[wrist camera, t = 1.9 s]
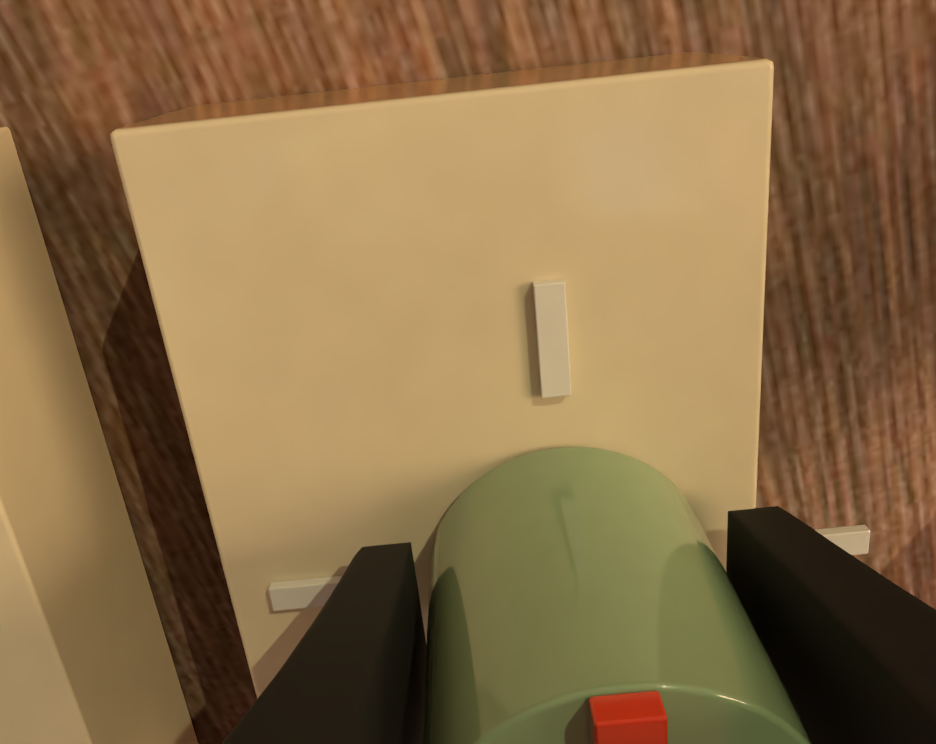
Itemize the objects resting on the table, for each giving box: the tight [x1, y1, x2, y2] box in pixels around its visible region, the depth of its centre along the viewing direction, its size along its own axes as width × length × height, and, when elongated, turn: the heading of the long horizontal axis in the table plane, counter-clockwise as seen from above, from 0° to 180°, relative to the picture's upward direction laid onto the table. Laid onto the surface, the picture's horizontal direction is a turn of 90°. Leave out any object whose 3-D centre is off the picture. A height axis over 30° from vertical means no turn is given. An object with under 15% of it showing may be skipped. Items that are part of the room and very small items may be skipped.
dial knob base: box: [110, 52, 870, 699], centre depth 12 cm, size 12×8×3 cm
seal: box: [423, 447, 814, 744], centre depth 9 cm, size 4×4×4 cm
